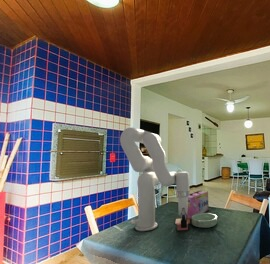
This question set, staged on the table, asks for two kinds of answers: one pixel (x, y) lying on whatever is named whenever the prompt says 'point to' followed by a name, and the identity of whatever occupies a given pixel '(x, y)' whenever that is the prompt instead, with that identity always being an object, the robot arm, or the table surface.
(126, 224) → the table surface
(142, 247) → the table surface
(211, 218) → the bowl
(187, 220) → the coaster
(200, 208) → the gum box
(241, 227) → the table surface
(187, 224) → the eraser
